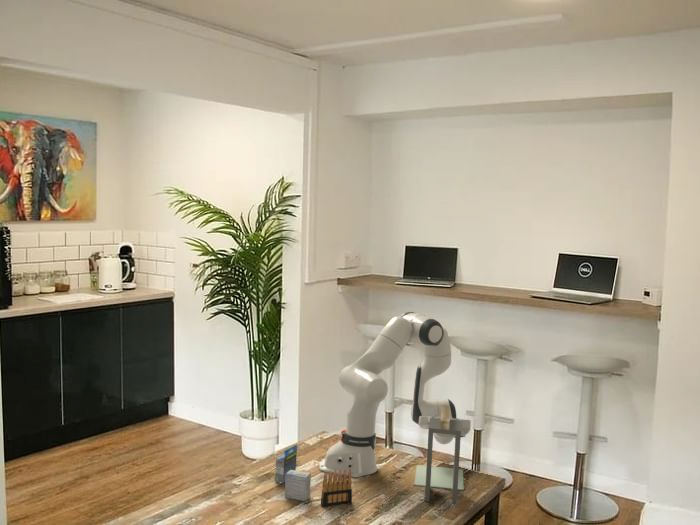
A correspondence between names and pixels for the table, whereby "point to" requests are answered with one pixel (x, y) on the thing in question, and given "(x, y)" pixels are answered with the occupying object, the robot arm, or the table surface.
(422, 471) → the mat
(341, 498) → the ammunition clip
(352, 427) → the robot arm
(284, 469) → the label tape box
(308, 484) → the medicine box
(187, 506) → the table surface
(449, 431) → the stand
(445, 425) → the beech bar
